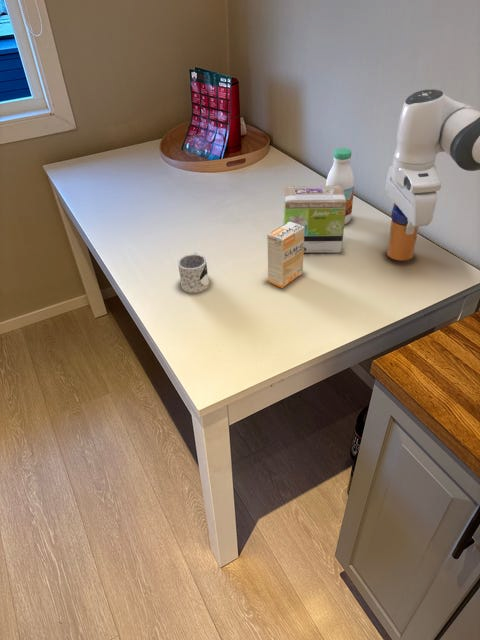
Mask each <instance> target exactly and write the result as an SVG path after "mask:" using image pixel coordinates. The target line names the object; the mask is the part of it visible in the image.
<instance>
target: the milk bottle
mask: <svg viewBox="0 0 480 640" xmlns="http://www.w3.org/2000/svg"><path fill="white" fill-rule="evenodd" d="M351 159H352V150H351V149H349V148H346V147H339V148H336V149H334V150H333V164H332V166H331V168H330V171H329V172H328V174H327V177H326V182H325V186H339V185H342V188H343V191H344V195H345V199H346V213H345V221H344V225H347V224H348V223H350V221H351V220H352V215H353V205H354V192H355V175H354V172H353V170H352V167H351Z"/></svg>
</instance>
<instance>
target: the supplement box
mask: <svg viewBox="0 0 480 640" xmlns="http://www.w3.org/2000/svg"><path fill="white" fill-rule="evenodd" d="M304 231H305V227H304V226H301V225H299V224H296V223H293V222H288V223H286V224H285V225H283V224H282V225H281V226H279V227H278V228H276V229H274V230H272V231H271V232H269V233H267V234H266V235H267V238H266V239H267V282H268V283H269V284H272V285H274V286H277V287H278V288H281V289H283V288H285V287H286V286H287V285H289V284H290V283H291V282H293V281H294V280H295V279H297V278H299V277H300V276H302V275H303V273H304Z"/></svg>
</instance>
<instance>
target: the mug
mask: <svg viewBox="0 0 480 640" xmlns="http://www.w3.org/2000/svg"><path fill="white" fill-rule="evenodd" d="M177 266H178V267H177V268H178V272H179V277H180V278H179V279H180V285H181V289H182V291H184V292H186V293H189V294H197V293H201V292H204V291H205V290H207V289H208V288H209V285H210V282H209V274H208V265H207V258H206V257H205V256H203V255H201V254H198V252H193V253H192V254H186V255H183V256H181V257H180V258H179V260H178V261H177Z"/></svg>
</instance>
